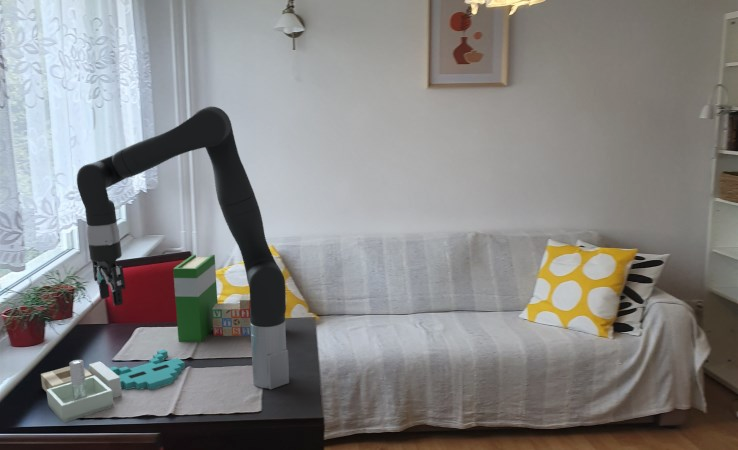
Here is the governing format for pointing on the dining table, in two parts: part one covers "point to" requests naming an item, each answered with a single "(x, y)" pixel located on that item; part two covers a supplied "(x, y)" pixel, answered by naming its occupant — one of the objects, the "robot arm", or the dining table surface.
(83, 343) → the dining table surface
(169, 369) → the alien figure
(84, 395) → the steel dowel
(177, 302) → the hardback book
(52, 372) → the socket block
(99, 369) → the bar
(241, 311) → the stack of blocks
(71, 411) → the tray
